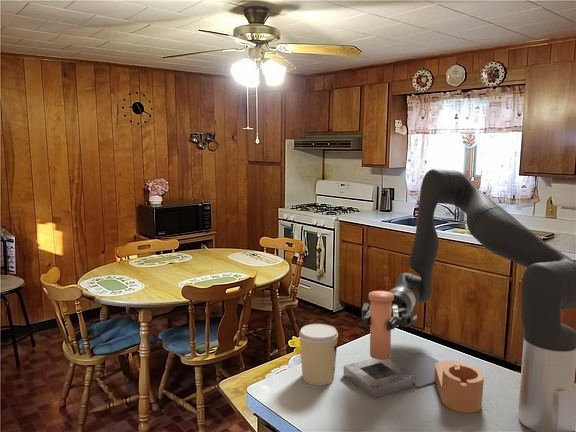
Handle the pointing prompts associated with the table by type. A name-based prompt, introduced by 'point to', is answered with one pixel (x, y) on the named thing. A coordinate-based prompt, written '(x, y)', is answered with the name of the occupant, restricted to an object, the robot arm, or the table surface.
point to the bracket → (459, 386)
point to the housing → (384, 386)
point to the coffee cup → (318, 353)
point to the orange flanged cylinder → (380, 324)
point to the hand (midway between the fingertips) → (377, 324)
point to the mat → (418, 367)
